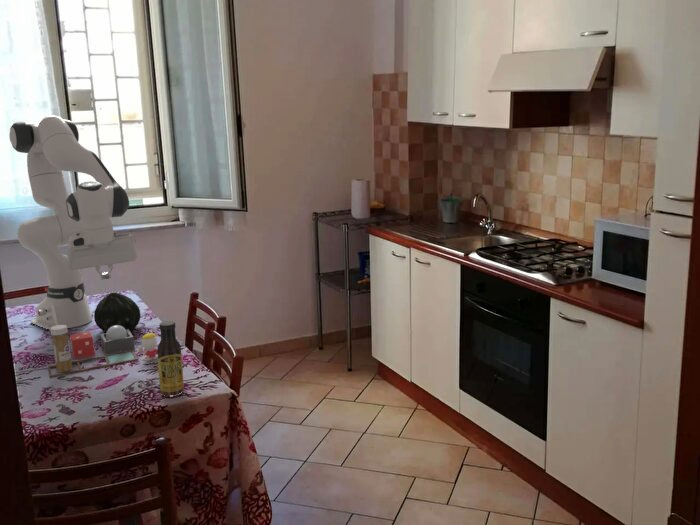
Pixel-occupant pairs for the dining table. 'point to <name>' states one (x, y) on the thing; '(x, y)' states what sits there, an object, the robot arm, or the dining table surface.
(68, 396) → the dining table surface
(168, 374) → the sauce bottle
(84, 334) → the red die
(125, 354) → the wooden frame
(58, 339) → the sprinkles bottle
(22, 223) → the robot arm
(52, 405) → the dining table surface
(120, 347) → the dome housing
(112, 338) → the dome
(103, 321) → the squash
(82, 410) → the dining table surface
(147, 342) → the toy figures
